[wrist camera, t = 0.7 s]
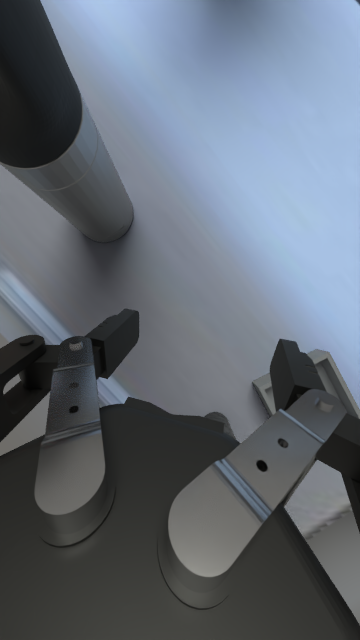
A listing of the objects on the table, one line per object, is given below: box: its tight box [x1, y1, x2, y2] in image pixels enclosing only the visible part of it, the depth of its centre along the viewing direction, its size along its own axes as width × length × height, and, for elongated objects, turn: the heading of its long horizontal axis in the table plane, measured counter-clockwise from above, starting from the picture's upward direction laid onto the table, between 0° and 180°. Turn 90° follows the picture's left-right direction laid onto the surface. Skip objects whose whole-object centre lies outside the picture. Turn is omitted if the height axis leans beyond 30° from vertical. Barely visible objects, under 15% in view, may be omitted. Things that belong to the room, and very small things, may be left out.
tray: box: [253, 349, 360, 419], centre depth 33 cm, size 11×11×3 cm
